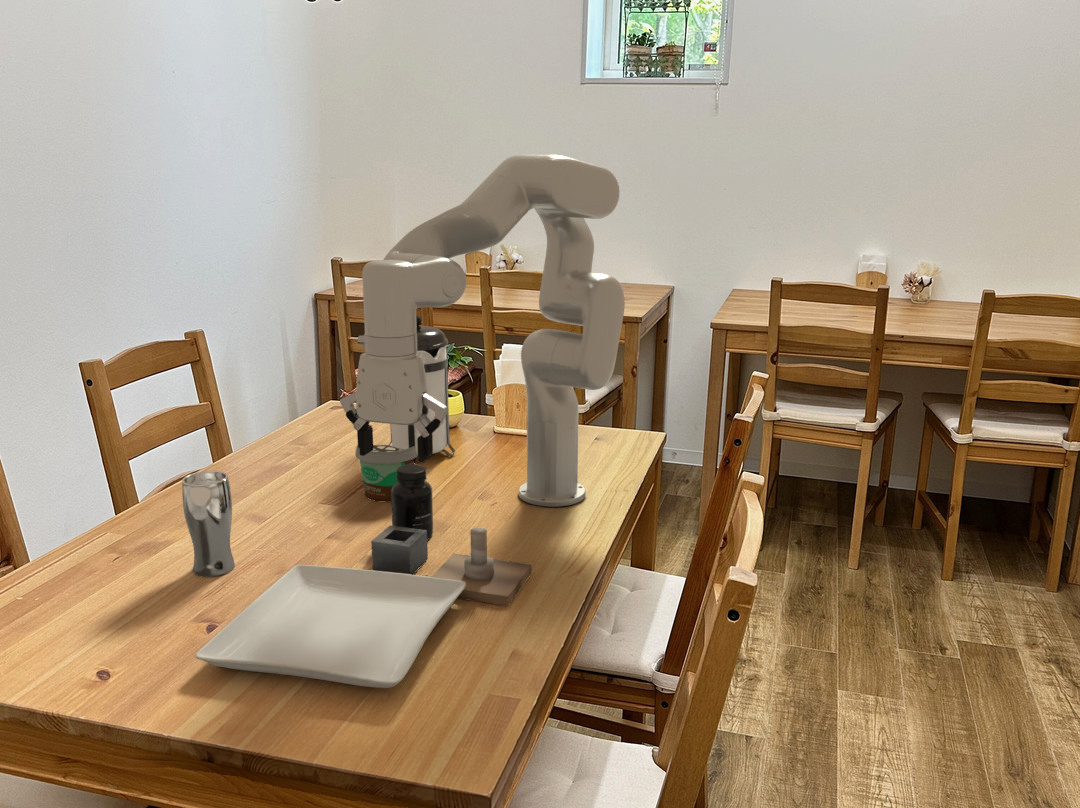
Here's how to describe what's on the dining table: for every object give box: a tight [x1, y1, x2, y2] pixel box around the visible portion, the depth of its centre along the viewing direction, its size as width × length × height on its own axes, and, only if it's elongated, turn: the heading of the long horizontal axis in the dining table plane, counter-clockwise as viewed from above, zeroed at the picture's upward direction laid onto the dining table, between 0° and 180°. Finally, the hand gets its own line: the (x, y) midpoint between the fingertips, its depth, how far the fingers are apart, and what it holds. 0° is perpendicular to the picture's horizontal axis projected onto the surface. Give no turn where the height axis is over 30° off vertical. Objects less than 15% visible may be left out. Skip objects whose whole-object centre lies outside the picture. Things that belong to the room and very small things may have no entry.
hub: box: [370, 524, 429, 575], centre depth 143 cm, size 6×6×5 cm
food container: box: [354, 444, 418, 502], centre depth 170 cm, size 12×6×10 cm, turn 68°
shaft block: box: [430, 527, 533, 607], centre depth 136 cm, size 11×13×8 cm
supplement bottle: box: [390, 463, 434, 540], centre depth 153 cm, size 7×7×12 cm
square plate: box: [194, 564, 466, 689], centre depth 122 cm, size 27×27×4 cm
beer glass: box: [181, 470, 236, 578], centre depth 140 cm, size 7×7×15 cm
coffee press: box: [388, 314, 456, 464], centre depth 192 cm, size 17×16×30 cm
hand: (395, 456), depth 138 cm, fingers open, 9 cm apart
